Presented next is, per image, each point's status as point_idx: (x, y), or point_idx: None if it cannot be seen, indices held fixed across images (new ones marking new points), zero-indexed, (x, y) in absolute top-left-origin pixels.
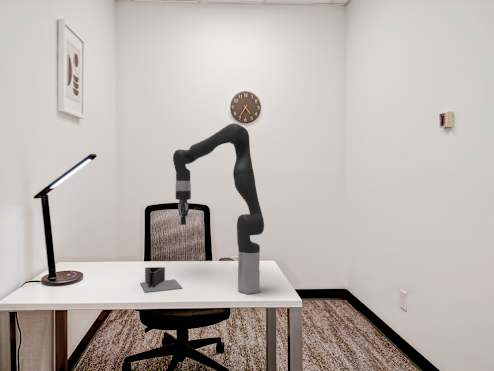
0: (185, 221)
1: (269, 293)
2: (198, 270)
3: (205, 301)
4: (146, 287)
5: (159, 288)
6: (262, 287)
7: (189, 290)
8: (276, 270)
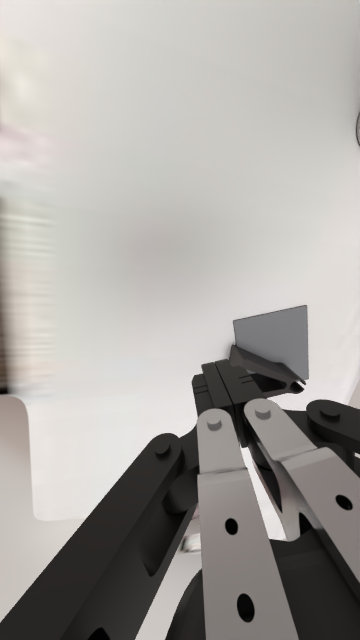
0: (235, 373)
1: None
2: (143, 250)
3: None
4: None
5: (295, 353)
6: None
7: (323, 289)
8: None
